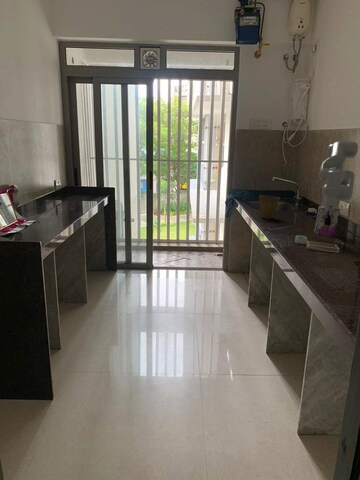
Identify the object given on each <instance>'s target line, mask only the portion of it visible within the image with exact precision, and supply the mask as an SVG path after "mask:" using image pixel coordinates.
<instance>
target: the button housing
mask: <svg viewBox="0 0 360 480" xmlns="http://www.w3.org/2000/svg"><path fill="white" fill-rule="evenodd" d="M306 241H308V239H307V236H305V239H304V238H298V235H295V238H294V242H295V244H302V245H306Z"/></svg>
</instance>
